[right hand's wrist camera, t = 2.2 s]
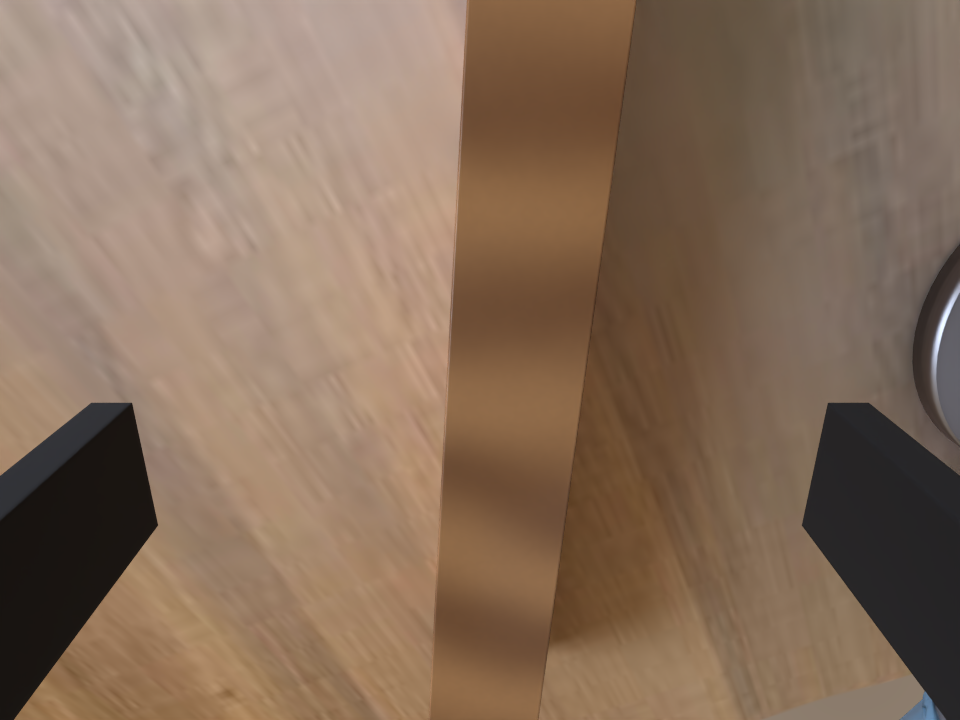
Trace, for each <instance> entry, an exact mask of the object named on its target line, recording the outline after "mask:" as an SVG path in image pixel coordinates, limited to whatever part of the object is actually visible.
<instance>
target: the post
mask: <svg viewBox="0 0 960 720" xmlns="http://www.w3.org/2000/svg"><path fill="white" fill-rule="evenodd" d="M636 2H637V0H467V10H466V29H465V48H464V67H463V86H462V104H461V123H460V142H459V161H458V180H457V198H456V217H455V236H454V255H453V274H452V292H451V311H450V330H449V349H448V368H447V386H446V405H445V424H444V443H443V462H442V480H441V499H440V518H439V537H438V556H437V574H436V593H435V612H434V631H433V650H432V668H431V687H430V706H429V720H538V718H539V711H540V704H541V696H542V689H543V682H544V674H545V667H546V660H547V653H548V645H549V638H550V631H551V623H552V616H553V609H554V601H555V594H556V587H557V579H558V572H559V565H560V557H561V550H562V543H563V536H564V528H565V521H566V514H567V506H568V499H569V492H570V484H571V477H572V470H573V462H574V455H575V448H576V441H577V433H578V426H579V419H580V411H581V404H582V397H583V389H584V382H585V375H586V367H587V360H588V353H589V345H590V338H591V331H592V324H593V316H594V309H595V302H596V294H597V287H598V280H599V272H600V265H601V258H602V250H603V243H604V236H605V228H606V221H607V214H608V207H609V199H610V192H611V185H612V177H613V170H614V163H615V155H616V148H617V141H618V133H619V126H620V119H621V112H622V104H623V97H624V90H625V82H626V75H627V68H628V60H629V53H630V46H631V38H632V31H633V24H634V16H635V9H636Z"/></svg>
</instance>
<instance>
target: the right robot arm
mask: <svg viewBox="0 0 960 720" xmlns="http://www.w3.org/2000/svg"><path fill="white" fill-rule="evenodd" d="M913 373H914V379H915V384H916V389H917V392H918V395H919V398H920V401H921V403H922V405H923V407H924V409H925V411H926V413H927V414H928V416H929V417H930V419H931V420H932V422H933V423H934V424H935V425H936V426H937V428H938V429H939V430H940V431H941V432H942V433H943V434H944V435H945V436H947V437H948V438H949V439H950V440H951V441H953V442H954V443H955V444H957V445H958V446H959V447H960V245H959V246H958V247H957V249H956V250H955V251H954V252H953V254H952V255H951V256H950V257H949V259H948V260H947V262H946V263H945V265H944V266H943V268H942V269H941V271H940V272H939V274H938V276H937V278H936V279H935V281H934V283H933V285H932V287H931V289H930V291H929V293H928V295H927V297H926V300H925V302H924V305H923V307H922V310H921V313H920V316H919V319H918V323H917V327H916V331H915V338H914V345H913ZM157 526H158V523H157V518H156V514H155V509H154V504H153V499H152V495H151V490H150V485H149V481H148V476H147V471H146V467H145V462H144V457H143V452H142V448H141V443H140V438H139V434H138V429H137V424H136V419H135V415H134V410H133V405H132V403H91V404H89V405H88V406H87V407H86V408H84V409H83V410H82V411H81V412H79V413H78V414H77V415H76V416H74V417H73V418H72V419H71V420H69V421H68V422H67V423H66V424H64V425H63V426H62V427H61V428H59V429H58V430H57V431H56V432H54V433H53V434H52V435H51V436H49V437H48V438H47V439H46V440H44V441H43V442H42V443H41V444H39V445H38V446H37V447H36V448H34V449H33V450H32V451H31V452H29V453H28V454H27V455H26V456H25V457H23V458H22V459H21V460H20V461H18V462H17V463H16V464H15V465H13V466H12V467H11V468H10V469H8V470H7V471H6V472H5V473H3V474H2V475H1V476H0V720H14V719H15V717H16V716H17V715H18V713H19V712H20V711H21V709H22V708H23V707H24V705H25V704H26V702H27V701H28V700H29V698H30V697H31V696H32V694H33V693H34V692H35V690H36V689H37V688H38V686H39V685H40V684H41V682H42V681H43V680H44V678H45V677H46V676H47V674H48V673H49V671H50V670H51V669H52V667H53V666H54V665H55V663H56V662H57V661H58V659H59V658H60V657H61V655H62V654H63V653H64V651H65V650H66V649H67V647H68V646H69V645H70V643H71V642H72V641H73V639H74V638H75V636H76V635H77V634H78V632H79V631H80V630H81V628H82V627H83V626H84V624H85V623H86V622H87V620H88V619H89V618H90V616H91V615H92V614H93V612H94V611H95V610H96V608H97V607H98V605H99V604H100V603H101V601H102V600H103V599H104V597H105V596H106V595H107V593H108V592H109V591H110V589H111V588H112V587H113V585H114V584H115V583H116V581H117V580H118V579H119V577H120V576H121V574H122V573H123V572H124V570H125V569H126V568H127V566H128V565H129V564H130V562H131V561H132V560H133V558H134V557H135V556H136V554H137V553H138V552H139V550H140V549H141V548H142V546H143V545H144V544H145V542H146V541H147V539H148V538H149V537H150V535H151V534H152V533H153V531H154V530H155V529H156V527H157ZM802 526H803V527H804V529H805V530H806V531H807V533H808V534H809V535H810V537H811V538H812V539H813V541H814V542H815V544H816V545H817V546H818V548H819V549H820V550H821V552H822V553H823V554H824V556H825V557H826V558H827V560H828V561H829V562H830V564H831V565H832V566H833V568H834V569H835V570H836V572H837V573H838V574H839V576H840V577H841V579H842V580H843V581H844V583H845V584H846V585H847V587H848V588H849V589H850V591H851V592H852V593H853V595H854V596H855V597H856V599H857V600H858V601H859V603H860V604H861V605H862V607H863V608H864V610H865V611H866V612H867V614H868V615H869V616H870V618H871V619H872V620H873V622H874V623H875V624H876V626H877V627H878V628H879V630H880V631H881V632H882V634H883V635H884V636H885V638H886V639H887V641H888V642H889V643H890V645H891V646H892V647H893V649H894V650H895V651H896V653H897V654H898V655H899V657H900V658H901V659H902V661H903V662H904V663H905V665H906V666H907V667H908V669H909V670H910V671H911V673H912V674H913V676H914V677H915V678H916V680H917V681H918V682H919V684H920V685H921V686H922V688H923V689H924V690H925V692H924V694H923V699H922V700H921V701H920V702H919V703H918V704H917V705H915V706H914V707H913V708H912V709H911V710H910V711H909V712H908V713H906V714H905V715H904V716H903V717H902V718H901V719H900V720H960V476H959V475H958V474H957V473H955V472H954V471H953V470H952V469H950V468H949V467H948V466H947V465H945V464H944V463H943V462H942V461H940V460H939V459H938V458H937V457H935V456H934V455H933V454H932V453H931V452H929V451H928V450H927V449H926V448H924V447H923V446H922V445H921V444H919V443H918V442H917V441H916V440H914V439H913V438H912V437H911V436H909V435H908V434H907V433H906V432H904V431H903V430H902V429H901V428H899V427H898V426H897V425H896V424H894V423H893V422H892V421H891V420H889V419H888V418H887V417H886V416H884V415H883V414H882V413H881V412H879V411H878V410H877V409H876V408H874V407H873V406H872V405H871V404H869V403H828V405H827V410H826V415H825V419H824V424H823V429H822V434H821V438H820V443H819V448H818V452H817V457H816V462H815V467H814V471H813V476H812V481H811V485H810V490H809V495H808V499H807V504H806V509H805V514H804V518H803V523H802Z"/></svg>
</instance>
